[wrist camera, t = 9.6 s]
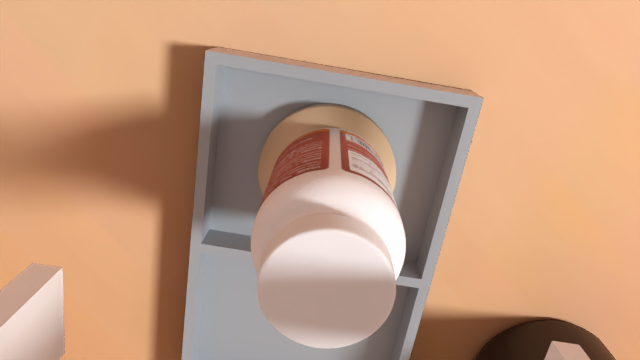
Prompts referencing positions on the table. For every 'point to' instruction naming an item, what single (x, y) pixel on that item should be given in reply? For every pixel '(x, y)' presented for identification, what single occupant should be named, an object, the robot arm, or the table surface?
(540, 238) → the table surface
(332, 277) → the pill bottle
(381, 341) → the caddy
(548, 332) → the mug
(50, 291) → the robot arm
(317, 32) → the table surface
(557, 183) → the table surface
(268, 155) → the coaster
